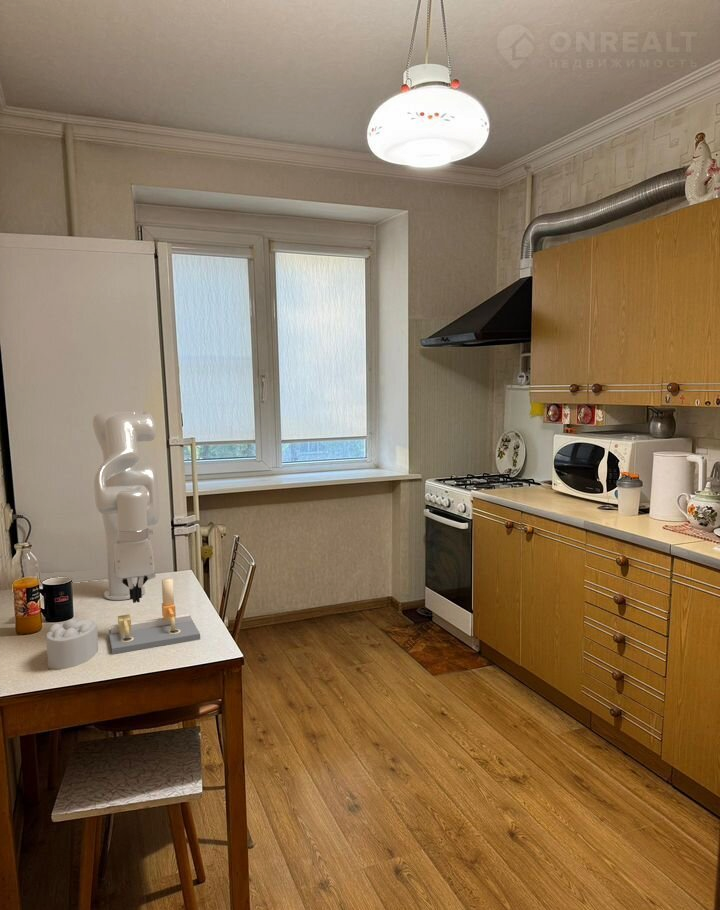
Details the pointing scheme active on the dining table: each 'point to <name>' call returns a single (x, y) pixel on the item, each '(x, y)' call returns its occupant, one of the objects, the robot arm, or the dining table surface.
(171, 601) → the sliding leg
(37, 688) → the dining table surface
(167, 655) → the dining table surface
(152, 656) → the dining table surface
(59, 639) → the lumpy-topped squat cylinder
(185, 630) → the plate
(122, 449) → the robot arm
